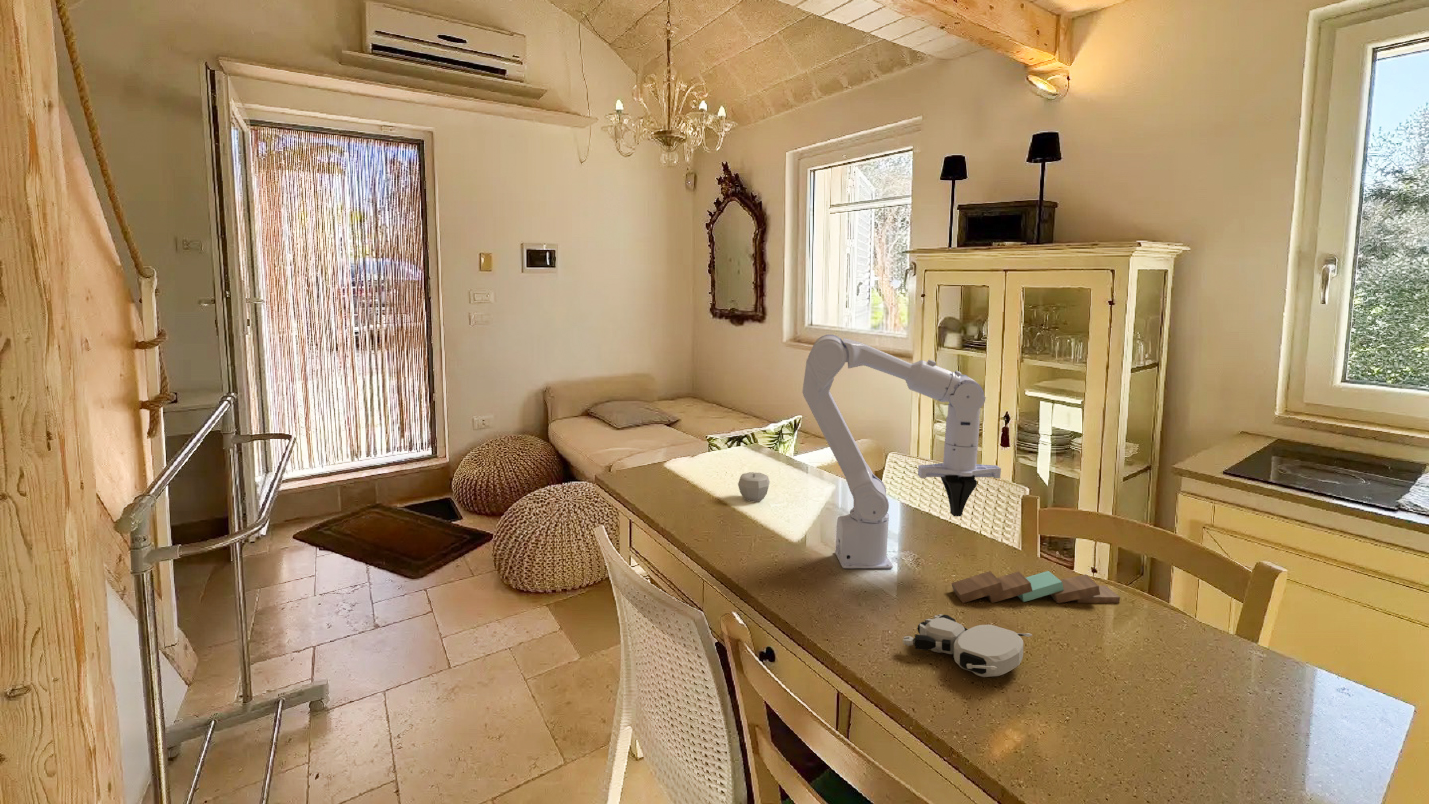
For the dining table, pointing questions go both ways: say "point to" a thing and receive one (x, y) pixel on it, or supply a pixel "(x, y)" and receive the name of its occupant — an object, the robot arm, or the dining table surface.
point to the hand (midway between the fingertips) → (955, 514)
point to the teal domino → (1042, 586)
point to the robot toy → (971, 645)
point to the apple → (753, 486)
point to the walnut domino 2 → (1011, 587)
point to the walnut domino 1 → (977, 587)
